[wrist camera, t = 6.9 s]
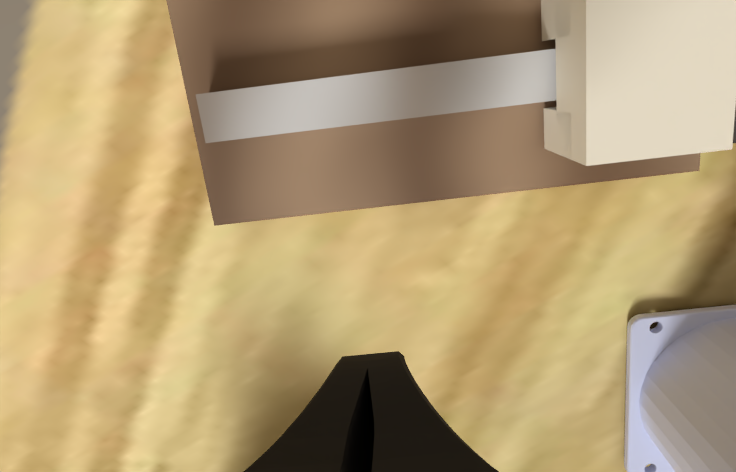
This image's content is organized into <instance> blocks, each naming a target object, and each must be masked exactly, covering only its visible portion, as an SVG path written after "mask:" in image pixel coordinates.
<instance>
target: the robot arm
mask: <svg viewBox="0 0 736 472" xmlns="http://www.w3.org/2000/svg"><path fill="white" fill-rule="evenodd" d="M654 322H658V324H657V326H656V327H655V328H653V329H649V328H650V325H651V324H652V323H654ZM648 464H651V465H650V466H648V467H645V466H646V465H648ZM624 466H625V469H626V471H627V472H736V305H726V306H716V307H706V308H696V309H686V310H676V311H666V312H656V313H646V314H638V315H635V316H634V317H632V318H631V319H630V320H629V322H628V326H627V364H626V408H625V452H624ZM244 472H498V471H497V470H496V469H494V468H493V467H492V466H490V465H489V464H488V463H487V462H486V461H485V460H483V459H482V458H481V457H480V456H479V455H478V454H477V453H475V452H474V451H473V450H472V449H471V448H470V447H469V446H468V445H467V444H466V443H465V442H464V441H463V440H462V439H461V438H460V437H459V436H458V435H457V434H456V433H455V432H454V431H453V430H452V429H451V428H450V427H449V425H448V424H447V423H446V422H445V421H444V420H443V418H442V417H441V416H440V415H439V414H438V412H437V411H436V410H435V409H434V407H433V406H432V405H431V403H430V402H429V401H428V399H427V398H426V396H425V395H424V394H423V392H422V391H421V389H420V388H419V386H418V385H417V383H416V382H415V380H414V378H413V376H412V375H411V373H410V371H409V369H408V367H407V365H406V362H405V359H404V356H403V355H402V354H401V353H400V352H398V351H397V352H387V353H376V354H366V355H355V356H345V357H342V358H341V359H340V360H339V362H338V363H337V364H336V366H335V367H334V369H333V370H332V372H331V373H330V375H329V376H328V378H327V379H326V381H325V382H324V383H323V385H322V386H321V388H320V389H319V391H318V392H317V393H316V395H315V396H314V397H313V398H312V400H311V401H310V402H309V404H308V405H307V406H306V408H305V409H304V410H303V412H302V413H301V414H300V415H299V416H298V418H297V419H296V420H295V421H294V422H293V423H292V424H291V426H290V427H289V428H288V429H287V430H286V431H285V432H284V434H283V435H282V436H281V437H280V438H279V439H278V440H277V441H276V442H275V443H274V444H273V445H272V446H271V447H270V448H269V449H268V450H267V451H266V452H265V453H264V454H263V455H262V456H261V457H260V458H259V459H258V460H256V461H255V462H254V463H253V464H252V465H251V466H250V467H249V468H247V469H246V470H245V471H244Z"/></svg>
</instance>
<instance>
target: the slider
mask: <svg viewBox="0 0 736 472" xmlns="http://www.w3.org/2000/svg"><path fill="white" fill-rule="evenodd" d="M541 26H542V41H549V40H555V44H556V101H557V107H551V108H544V148H545V149H546V150H549V151H551V152H554V153H556V154H559V155H561V156H563V157H566V158H568V159H571V160H573V161H575V162H578V163H580V164H583V165H585V166H591V165H600V164H609V163H617V162H626V161H635V160H643V159H652V158H661V157H669V156H678V155H687V154H696V153H704V152H713V151H722V150H730V149H732V145H733V132H734V119H735V106H736V0H541Z"/></svg>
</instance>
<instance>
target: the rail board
mask: <svg viewBox="0 0 736 472" xmlns="http://www.w3.org/2000/svg"><path fill="white" fill-rule="evenodd" d="M167 5H168V10H169V14H170V19H171V24H172V28H173V33H174V38H175V42H176V47H177V52H178V57H179V61H180V66H181V71H182V75H183V80H184V85H185V89H186V94H187V99H188V103H189V108H190V113H191V118H192V122H193V127H194V132H195V136H196V141H197V146H198V150H199V155H200V160H201V165H202V169H203V174H204V179H205V183H206V188H207V193H208V197H209V202H210V207H211V211H212V216H213V221H214V226H215V225H223V224H232V223H241V222H250V221H259V220H268V219H276V218H285V217H294V216H303V215H312V214H321V213H329V212H338V211H347V210H356V209H365V208H374V207H382V206H391V205H400V204H409V203H418V202H427V201H435V200H444V199H453V198H462V197H471V196H480V195H489V194H497V193H506V192H515V191H524V190H533V189H542V188H550V187H559V186H568V185H577V184H586V183H595V182H603V181H612V180H621V179H630V178H639V177H648V176H656V175H665V174H674V173H683V172H692V171H699V166H700V153H696V154H687V155H678V156H669V157H661V158H652V159H643V160H635V161H626V162H617V163H609V164H600V165H591V166H585V165H583V164H580V163H578V162H575V161H573V160H571V159H568V158H566V157H563V156H561V155H559V154H556V153H554V152H551V151H549V150H546V149H545V148H544V108H551V107H557V101H556V44H555V40H549V41H542V26H541V0H167ZM733 143H736V106H735V119H734V132H733Z"/></svg>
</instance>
